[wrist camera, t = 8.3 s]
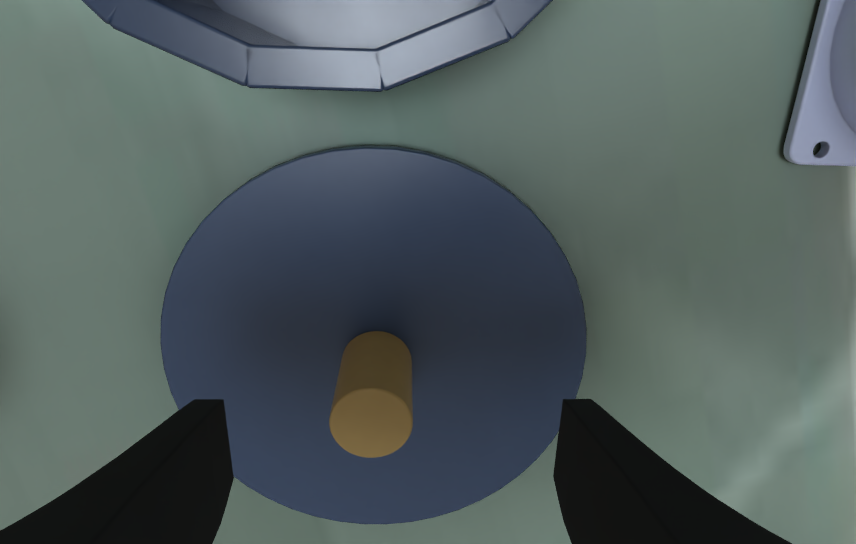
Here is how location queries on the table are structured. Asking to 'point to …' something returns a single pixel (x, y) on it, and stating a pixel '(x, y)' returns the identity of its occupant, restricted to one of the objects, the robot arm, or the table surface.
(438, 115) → the table surface
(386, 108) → the table surface
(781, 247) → the table surface
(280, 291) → the tin lid
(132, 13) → the tin
